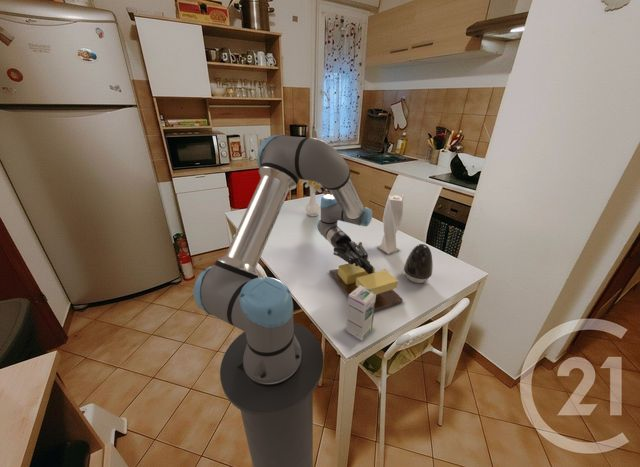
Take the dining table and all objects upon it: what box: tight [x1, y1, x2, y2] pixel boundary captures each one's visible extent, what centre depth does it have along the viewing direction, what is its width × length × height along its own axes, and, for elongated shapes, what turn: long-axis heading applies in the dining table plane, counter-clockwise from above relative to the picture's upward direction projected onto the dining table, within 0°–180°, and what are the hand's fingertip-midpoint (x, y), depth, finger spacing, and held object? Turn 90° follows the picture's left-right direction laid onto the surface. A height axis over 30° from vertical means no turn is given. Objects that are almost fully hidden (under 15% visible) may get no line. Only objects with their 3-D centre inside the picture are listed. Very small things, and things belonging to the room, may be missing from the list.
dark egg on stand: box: [403, 243, 434, 284], centre depth 99 cm, size 10×10×15 cm
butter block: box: [337, 262, 376, 284], centre depth 101 cm, size 12×7×4 cm, turn 114°
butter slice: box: [356, 269, 399, 294], centre depth 89 cm, size 12×7×3 cm, turn 114°
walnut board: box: [328, 268, 404, 313], centre depth 98 cm, size 16×25×2 cm, turn 24°
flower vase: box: [300, 179, 325, 217], centre depth 151 cm, size 13×18×25 cm
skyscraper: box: [377, 193, 405, 255], centre depth 115 cm, size 8×8×28 cm
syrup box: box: [346, 285, 376, 341], centre depth 76 cm, size 6×6×14 cm
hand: (371, 270), depth 90 cm, fingers closed
